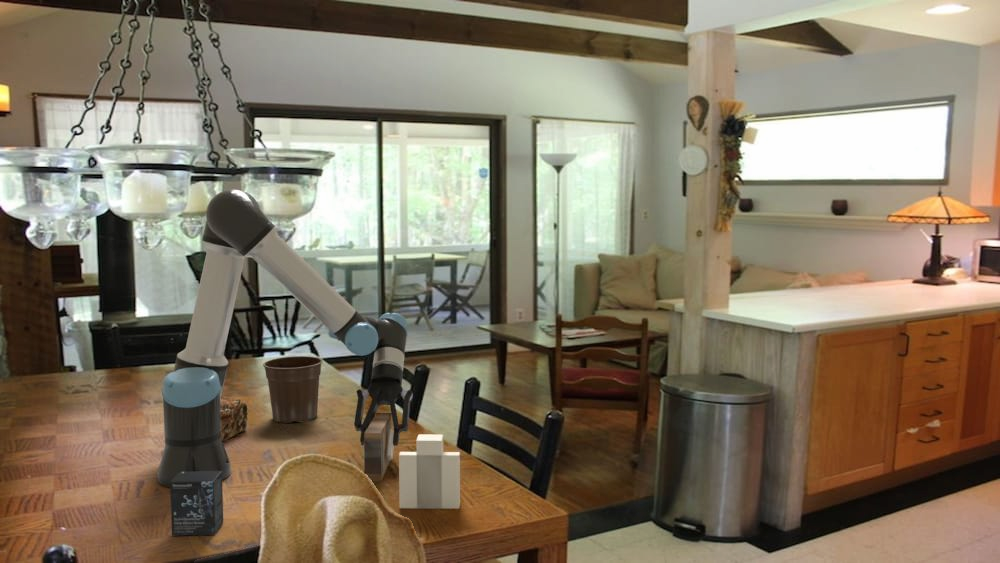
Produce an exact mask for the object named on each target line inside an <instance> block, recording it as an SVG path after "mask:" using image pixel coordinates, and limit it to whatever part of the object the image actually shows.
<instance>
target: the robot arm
mask: <svg viewBox="0 0 1000 563" xmlns="http://www.w3.org/2000/svg"><path fill="white" fill-rule="evenodd" d="M205 212H206V214H205V217H206V221H205V224H204V225H205V226H204V229H203V235H202V240H201V242H202V244H203V246H204V247H205V248H206V255H205V259H204V263H203V268H202V273H201V277H200V281H199V286H198V290H197V294H196V299H195V303H194V308H193V309H194V310H193V314H192V318H191V322H190V326H189V331H188V337H187V339H186V340H187V341H186V346H185V348H184V349H183V350H181V351H180V352H178V353H177V355H176V359H175V363H174V368H173V371H171V372H169V373H168V374H167V375H165V377H164V378H163V380H162V387H161V396H162V401H163V402H162V406H163V407H162V408H163V426H164V427H163V428H164V448H163V452H162V455H161V458H160V462H159V466H158V468H157V481H158V484H159V485H161V486H163V487H166V488H170V482H171V480H172V479H173V478H174V477H175V476H176V475H177V474H178V473H179V472H180V471H185V472H191V471H222V481H223V480H225V479H226V478H228V477H229V476H230V475H231V471H232V470H231V468H232V467H231V461H230V458H229V456H228V453H227V451H226V448H225V446H224V443H223V441H222V440H221V418H220V402H221V397H222V395H223V392H224V388H225V386H224V385H225V381H226V375H227V369H228V366H229V361H228V359H227V358H226V356H225V349H226V344H227V342H228V341H227V340H228V335H229V331H230V326H231V322H232V318H233V313H234V309H235V304H236V300H237V295H238V290H239V286H240V281H241V277H242V271H243V267H244V263H245V259H246V258H252V259H253V260H254V261H255V262H256V263H257V264H258V265H259V266H260V267H261V268H263V269H264V270H265V271H266V273H268V274H269V275H270V276H271V277H272V279H274V280H276V282H277V283H278V284H280V286H281V287H282V288H284V289H285V290H286V291H287V292H289V294H290V295H291V296H293V297H294V298H295V299H296V300H297V301H298V302H299V303H300V304H301V305H302V306H303V308H305V309H306V310H307V311H308V312H309V313H310V314H312V315H313V316H314V317H315V318H316V319H317V320H318V321H319V322H320V323H321V324H322V325H324V326H325V327H326V328H327V329H328V331H327V332H328V334H327V335H328V336H329V338H331V339H334V340H337V342H338V341H340V342H341V343H343V345H344V346H345V347H346V348H347V350H348V351H349V352H350V353H351V354H354V355H356V356H360V357H361V356H362V357H363V356H367V355H369V354H371V353H373V352H374V353H373V362H372V370H371V377H370V384H369V386H368V387H367V389H363V390H361V389H357V390H356V396H357V402H356V410H355V415H354V416H355V417H354V424H353V425H354V428H355V430H356V431H357V432H360V436H359V437H360V439H359V442H360V445H361V446H364V433H365V431H366V430H367V428H368V426H369V425H370V423H371V421H372V420H373V418H374V416H375V415H376V413H377V411H378V410H379V408H380V407H381V406H384V405H385V406H389V407H390V413H391V421H392V424H393V428H392V429H390V437H389V446H388V459H389V460H390V461H393V456H394V447H395V446H398V445H399V443H400V441H399V440H400V435H401V433H402V432H407V431H408V430H409V419H410V406H411V402H412V401H413V398H414V396H413V395H414V394H413V390H411V389H408V390H405V389H404V388H403V387H402V386H403V385H402V384H403V377H404V368H405V366H404V365H405V354H406V353H405V351H406V344H407V338H408V321H407V319H406V318H405V317H404V315H403V316H402V315H401V314H399V313H397V312H393V313H390V312H386V313H384V314H382V315H381V316H380V317H379V318H376V317H375V318H374V317H371V316H368V315H363V314H362V313H361V314H360V313H359V312H358V311H357V310H356V309H355V307H354V306H352V305H351V304H350V303H349V301H347V300H346V299H345V298H344V297H343V296H342V295H341V294H340V293H338V291H337V290H336V289H335V288H334V287H333V286H332V285H331V284H330V283H328V282H327V280H325V279H324V278H323V277H322V275H320V274H319V273H318V272H317V271H316V270H315V269H314V268H313V267H312V266H311V265H310V264H308V262H306V261H305V259H303V258H302V257H301V256H300V255H299V254H298V252H296V251H295V250H294V249H293V248H292V247H291V246H290V245H289V244H288V243H287V242H286V241H285V240H283V238H282V237H281V236H279V235H278V233H277V226H276V225H275V224H273V223H272V221H271V220H270V219H269V218H268V217H267V216H266V214H264V212H263V211H262V210H261V207H260V205H259V203H258V201H257V200H256V198H254V196H252V195H251V194H249V193H248V192H245V191H242V190H241V189H228V190H226V189H225V190H223V191H221V192H218V193H217V194H215V195H214V196H213V197H212V198H211V199H210V200H209V202H208V205H207V207H206V211H205ZM367 396H369V397H370V398H371V402H370V405H369V408H368V409H367V412H366V415H365V418H364V419H363V417H364V411H365V401H366V400H367V398H368V397H367ZM401 396H402V399H403V406H402V407H403V408H402V417H401V423H400V424H399V418H398V413H397V406H396V401H397V400H399V399H400V397H401ZM362 456H363V458H364V448H363V450H362Z"/></svg>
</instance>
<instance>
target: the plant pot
mask: <svg viewBox="0 0 1000 563" xmlns="http://www.w3.org/2000/svg"><path fill="white" fill-rule="evenodd" d="M323 360H324V359H322V358H320V357H317V356H307V355H304V356H303V355H299V356H284V357H276V358H273V359H269V360H266V361H264V362H263V363H262V367H263V368H264V371H265V377H266V379H267V384H268V390H269V399H270V406H271V413H272V415H271V416H272V419H273V421H275V422H277V423H281V424H282V423H283V424H291V423H293V422H297V423H303V422H308V421H311V420H313V419H315V418H316V417H317V416H318V402H319V386H320V376H321V373H322V364H323V362H324V361H323Z"/></svg>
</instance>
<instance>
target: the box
mask: <svg viewBox="0 0 1000 563" xmlns="http://www.w3.org/2000/svg"><path fill="white" fill-rule="evenodd" d="M169 488H170V489H169V490H170V509H171V510H170V517H171V518H170V519H171V536H172V537H175V536H176V537H177V536H215V535H216V534H217V533H218V531H219V530H220V528H221V527H222V526H223V524H224V508H223V507H224V501H223V500H224V498H223V497H224V495H223V493H224V492H223V480H222V471H191V472H185V471H180V472H179V473H178V474H177V475H176V476H175V477H174V478H173V479H172V480H171V482H170V487H169Z"/></svg>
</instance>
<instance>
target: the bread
mask: <svg viewBox="0 0 1000 563" xmlns="http://www.w3.org/2000/svg"><path fill="white" fill-rule="evenodd" d="M220 418H221V440H222V442H224V441H226V440H228V438H229V439H230V438H233V437H234V436H235V435H237V434H240V433H242V432H244V431H245V430H246V429H247V422H248V421H249V419H248V406H247V404H246V402H245V401H243V400H241V399H237V398H234V397H231V396H221V402H220ZM241 431H242V432H241Z"/></svg>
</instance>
